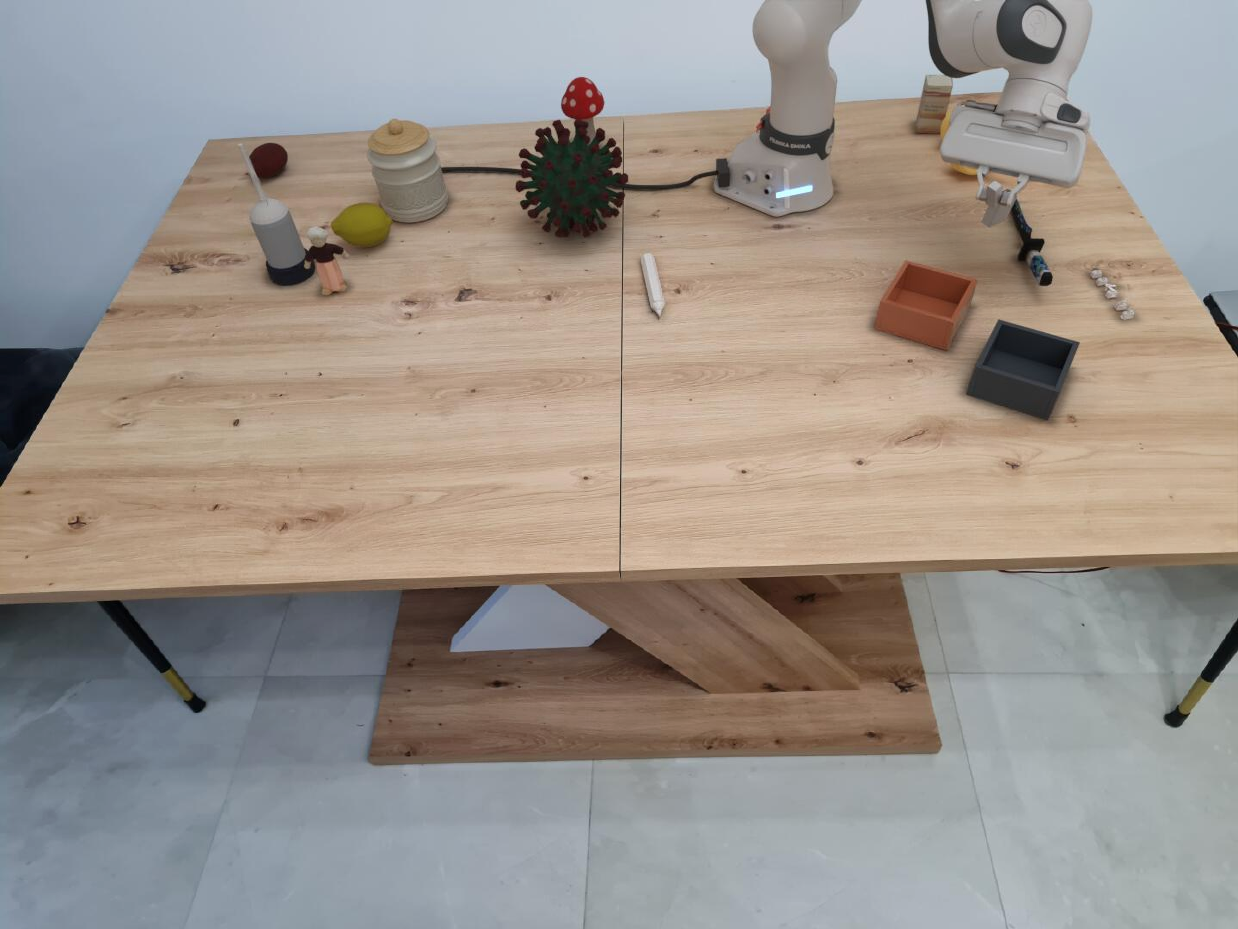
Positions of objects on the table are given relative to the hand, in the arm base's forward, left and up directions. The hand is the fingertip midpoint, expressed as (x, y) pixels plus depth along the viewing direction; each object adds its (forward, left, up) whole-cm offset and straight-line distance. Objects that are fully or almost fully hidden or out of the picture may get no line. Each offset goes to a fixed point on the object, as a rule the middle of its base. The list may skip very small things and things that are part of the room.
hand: (992, 202), depth 135 cm
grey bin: (+13, -18, -17) cm, 27 cm away
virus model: (-68, -13, -17) cm, 72 cm away
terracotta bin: (-4, -10, -17) cm, 20 cm away
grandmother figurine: (-97, -47, -17) cm, 109 cm away
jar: (-101, -20, -17) cm, 105 cm away
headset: (-7, +41, -17) cm, 45 cm away
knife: (+5, +15, -17) cm, 23 cm away
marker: (-46, -23, -17) cm, 54 cm away
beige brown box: (-22, +47, -17) cm, 55 cm away
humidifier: (-108, -47, -17) cm, 119 cm away
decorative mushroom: (-81, +11, -17) cm, 84 cm away
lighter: (0, +2, -5) cm, 5 cm away
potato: (-137, -24, -17) cm, 140 cm away
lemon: (-101, -34, -17) cm, 108 cm away
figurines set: (+21, +8, -17) cm, 28 cm away
